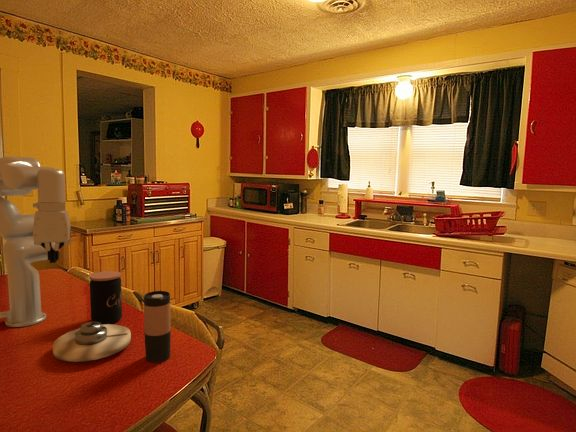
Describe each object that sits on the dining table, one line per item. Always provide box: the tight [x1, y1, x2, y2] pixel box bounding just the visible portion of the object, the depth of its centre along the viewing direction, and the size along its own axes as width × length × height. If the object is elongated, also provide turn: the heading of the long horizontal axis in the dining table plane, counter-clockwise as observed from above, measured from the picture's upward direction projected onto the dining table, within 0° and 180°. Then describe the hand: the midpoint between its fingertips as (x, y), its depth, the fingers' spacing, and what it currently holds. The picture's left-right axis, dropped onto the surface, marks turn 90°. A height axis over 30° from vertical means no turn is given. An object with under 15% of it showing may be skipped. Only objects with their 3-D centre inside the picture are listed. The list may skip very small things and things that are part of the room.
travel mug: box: [143, 290, 172, 364], centre depth 114 cm, size 8×8×20 cm
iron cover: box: [75, 321, 107, 345], centre depth 118 cm, size 9×9×5 cm
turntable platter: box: [52, 324, 132, 363], centre depth 119 cm, size 22×22×2 cm
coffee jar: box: [89, 270, 123, 325], centre depth 141 cm, size 11×11×18 cm
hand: (53, 261), depth 124 cm, fingers closed
